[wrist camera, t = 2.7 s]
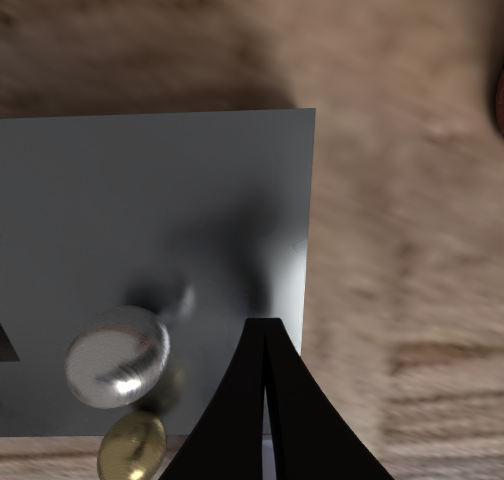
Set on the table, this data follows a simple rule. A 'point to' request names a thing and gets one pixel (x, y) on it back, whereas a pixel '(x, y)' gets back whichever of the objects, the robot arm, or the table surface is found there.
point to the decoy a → (133, 447)
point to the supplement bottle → (500, 103)
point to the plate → (146, 250)
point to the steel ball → (117, 357)
